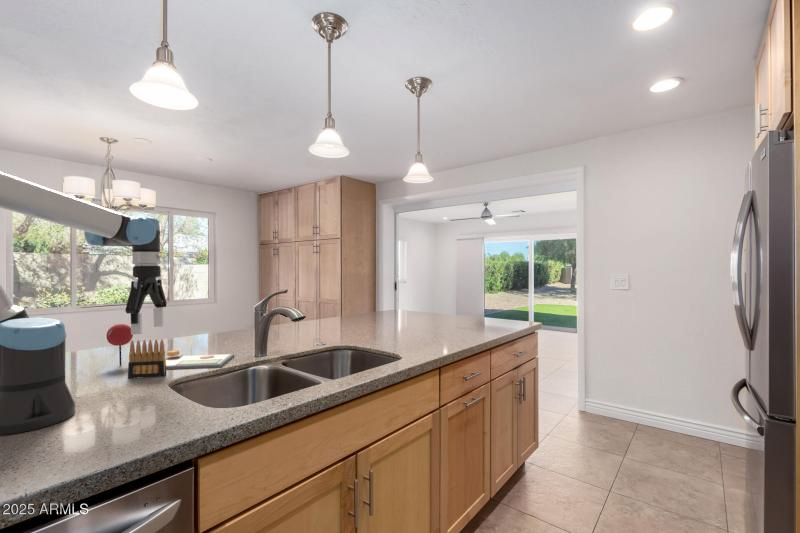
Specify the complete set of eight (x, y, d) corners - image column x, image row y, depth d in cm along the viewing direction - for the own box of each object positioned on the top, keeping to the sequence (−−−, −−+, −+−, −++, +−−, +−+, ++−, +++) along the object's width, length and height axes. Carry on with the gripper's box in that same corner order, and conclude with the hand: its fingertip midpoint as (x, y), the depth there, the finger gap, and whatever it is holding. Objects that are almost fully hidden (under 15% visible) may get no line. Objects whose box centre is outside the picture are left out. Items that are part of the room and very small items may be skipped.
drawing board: (220, 367, 132) (220, 363, 132) (144, 370, 129) (144, 366, 129) (234, 356, 148) (234, 353, 148) (166, 358, 144) (166, 355, 144)
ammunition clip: (166, 374, 123) (166, 338, 123) (164, 376, 121) (163, 339, 121) (130, 376, 121) (130, 339, 121) (127, 378, 119) (127, 341, 119)
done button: (176, 355, 140) (176, 352, 140) (165, 356, 139) (165, 352, 139) (181, 353, 144) (181, 350, 144) (170, 353, 143) (170, 350, 143)
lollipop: (110, 364, 137) (109, 323, 137) (135, 361, 140) (135, 322, 140) (103, 369, 130) (103, 326, 130) (130, 366, 133) (130, 325, 133)
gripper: (137, 265, 109) (139, 337, 110) (176, 264, 134) (177, 323, 134) (109, 265, 108) (111, 338, 109) (154, 265, 133) (155, 324, 133)
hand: (148, 330), depth 122 cm, fingers open, 13 cm apart
